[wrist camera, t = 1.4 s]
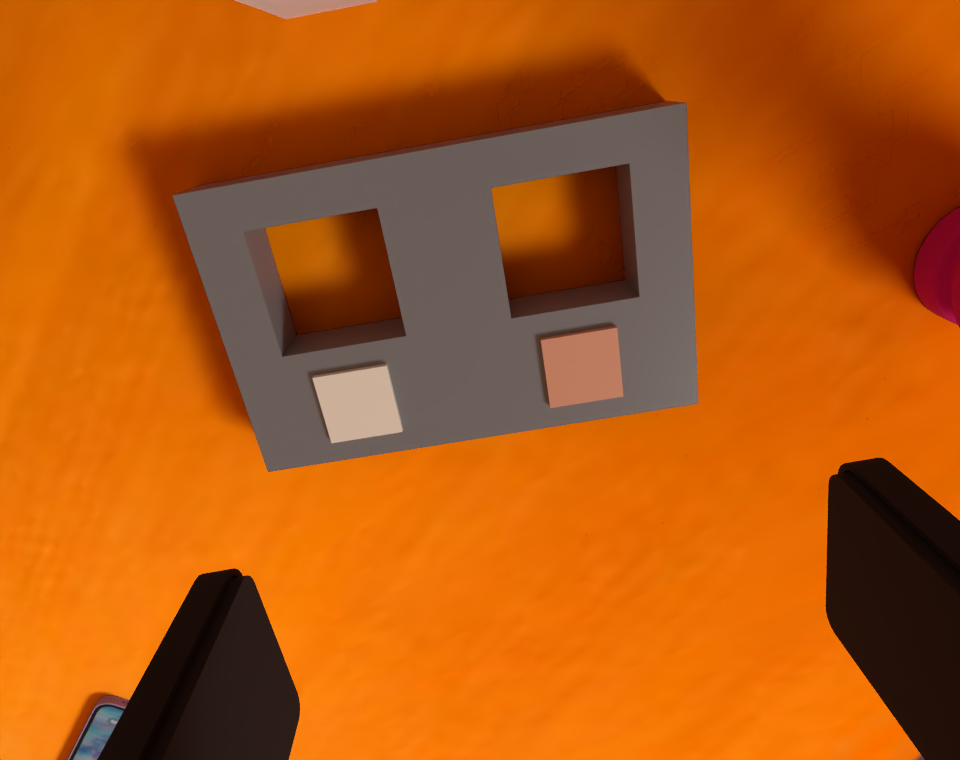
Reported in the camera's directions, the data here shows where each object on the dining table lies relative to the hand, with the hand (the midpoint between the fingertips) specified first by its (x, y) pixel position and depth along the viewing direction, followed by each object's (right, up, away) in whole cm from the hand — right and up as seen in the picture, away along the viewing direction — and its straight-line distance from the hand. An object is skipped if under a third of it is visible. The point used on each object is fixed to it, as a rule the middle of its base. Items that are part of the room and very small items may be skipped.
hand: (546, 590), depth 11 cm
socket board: (-2, +8, +23) cm, 24 cm away
